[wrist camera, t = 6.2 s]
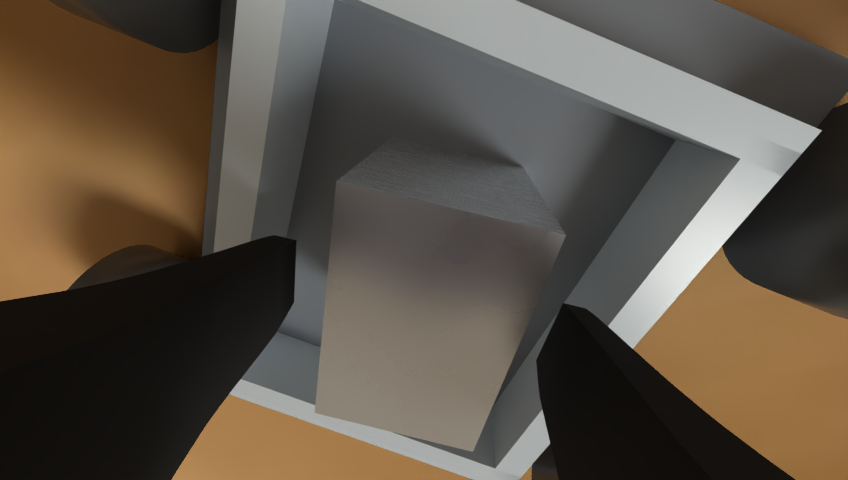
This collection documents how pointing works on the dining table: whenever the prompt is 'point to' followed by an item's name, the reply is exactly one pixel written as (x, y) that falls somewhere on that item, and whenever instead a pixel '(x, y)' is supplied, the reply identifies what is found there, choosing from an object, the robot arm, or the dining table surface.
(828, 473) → the dining table surface
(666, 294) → the chassis
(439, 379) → the brushed metal block
